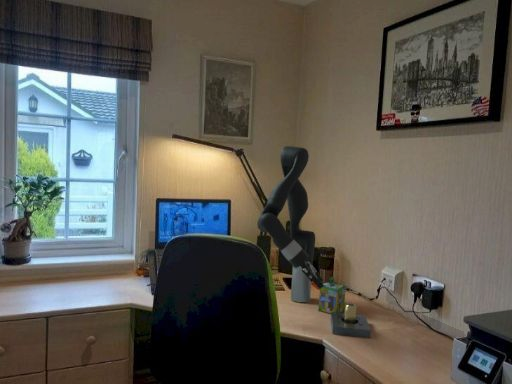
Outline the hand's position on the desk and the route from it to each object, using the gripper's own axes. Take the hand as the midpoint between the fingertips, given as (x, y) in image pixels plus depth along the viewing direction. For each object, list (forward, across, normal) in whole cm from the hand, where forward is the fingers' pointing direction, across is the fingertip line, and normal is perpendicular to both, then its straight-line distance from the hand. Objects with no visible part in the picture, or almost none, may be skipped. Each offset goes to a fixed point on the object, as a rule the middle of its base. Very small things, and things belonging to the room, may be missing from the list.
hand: (321, 284), depth 165 cm
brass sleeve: (+20, 0, +3) cm, 20 cm away
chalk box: (+16, +19, +8) cm, 26 cm away
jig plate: (+20, 0, +3) cm, 20 cm away
